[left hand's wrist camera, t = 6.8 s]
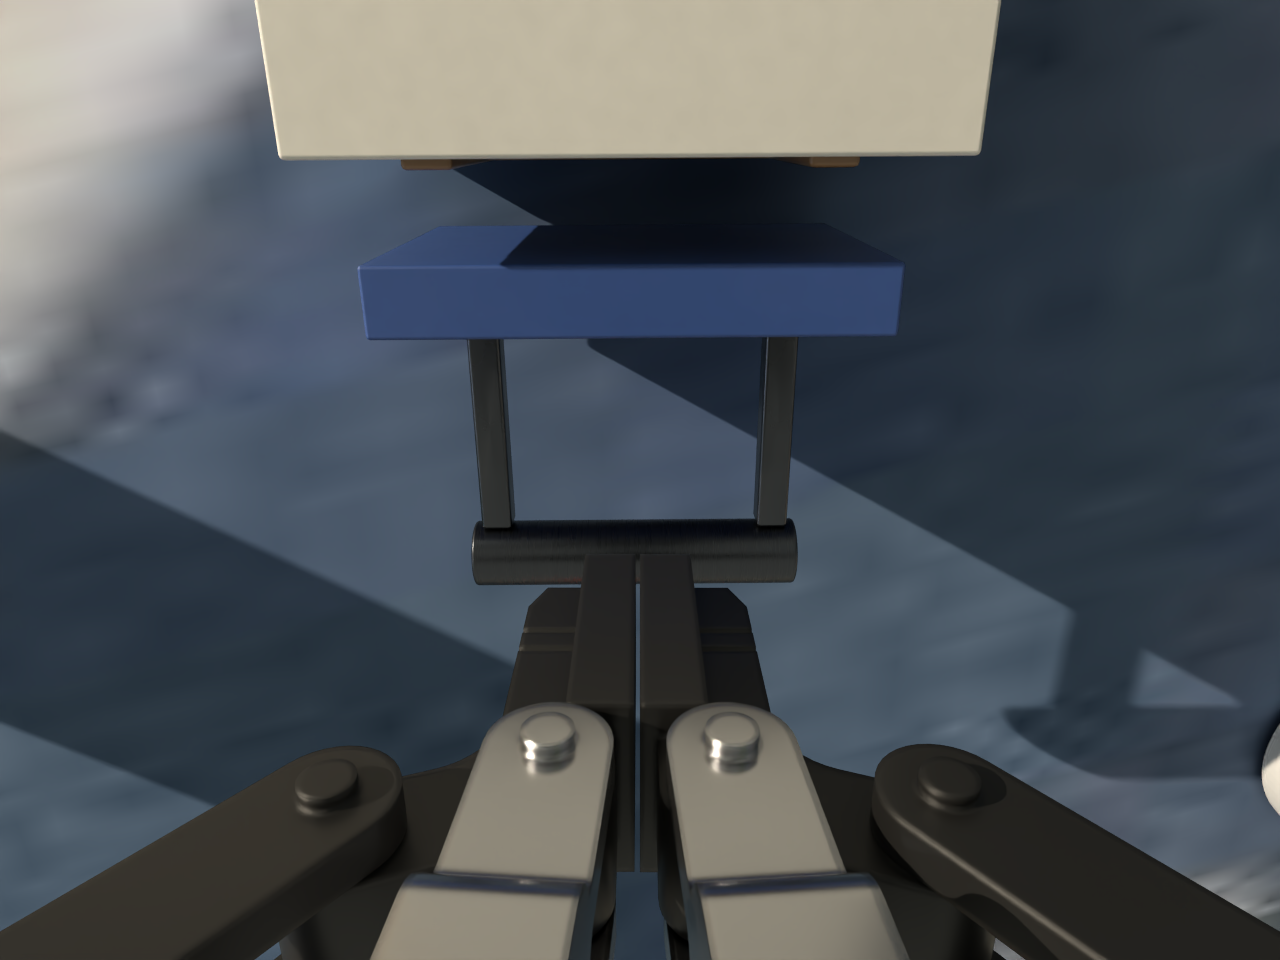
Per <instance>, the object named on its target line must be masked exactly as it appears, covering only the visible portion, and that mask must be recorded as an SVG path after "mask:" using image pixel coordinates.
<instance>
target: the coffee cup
mask: <svg viewBox="0 0 1280 960" xmlns="http://www.w3.org/2000/svg"><path fill="white" fill-rule="evenodd" d="M1262 782H1263V787H1264V791H1265V794H1266V796H1267V798H1268V800H1269V802H1270V803H1271V805H1272V806H1273V808H1274V809H1275V810H1276V811H1277V813H1278V814H1279V815H1280V724H1279V726H1278V727H1277V729H1276V730H1275V732H1274V734H1273V736H1272V738H1271V740H1270V742H1269V744H1268V746H1267V749H1266V752H1265V755H1264V760H1263V765H1262Z"/></svg>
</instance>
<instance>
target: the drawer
mask: <svg viewBox="0 0 1280 960" xmlns="http://www.w3.org/2000/svg"><path fill="white" fill-rule="evenodd" d="M755 158H770V159H775V160H779V161H784V162H789V163H794V164H799V165H804V166H809V167H855V166H858V164H859V162H860V156H850V157H699V158H548V159H401V166H402V168H403V169H405V170H451V169H455V168H460V167H465V166H469V165H474V164H479V163H484V162H488V161H493V160H605V159H755ZM357 270H358V278H359V285H360V293H361V301H362V309H363V317H364V324H365V332H366V337H367V339H369V340H450V339H467V346H468V358H469V370H470V382H471V394H472V406H473V418H474V430H475V442H476V454H477V466H478V478H479V490H480V502H481V514H482V521H478V522H477V523H476V525H475V527H474V531H473V538H472V571H473V576H474V580H475V582H476V584H478V585H556V584H581V583H582V576H583V568H584V560H585V555H586V554H636V584H640V554H690V556H691V564H692V572H693V581H694V583H787V582H793V581H794V579H795V576H796V571H797V560H798V548H797V535H796V529H795V525H794V523H793V520H792V519H790V518H787V504H788V488H789V473H790V458H791V442H792V427H793V411H794V396H795V380H796V365H797V349H798V337H851V336H895V335H897V333H898V329H899V319H900V310H901V301H902V292H903V283H904V274H905V263H904V262H902V261H900V260H898V259H896V258H894V257H892V256H890V255H888V254H886V253H884V252H882V251H880V250H878V249H875V248H873V247H871V246H869V245H867V244H865V243H863V242H861V241H859V240H857V239H855V238H853V237H851V236H849V235H847V234H845V233H843V232H841V231H839V230H836V229H834V228H832V227H830V226H828V225H826V224H693V225H549V226H440V227H437V228H435V229H433V230H431V231H429V232H427V233H425V234H423V235H421V236H419V237H417V238H415V239H413V240H411V241H409V242H407V243H405V244H403V245H401V246H399V247H397V248H395V249H393V250H391V251H389V252H387V253H385V254H383V255H381V256H379V257H377V258H375V259H372V260H370V261H368V262H366V263H364V264H362V265H360V266H358V269H357ZM717 337H762V349H761V370H760V391H759V411H758V432H757V453H756V473H755V494H754V517H755V519H652V520H532V521H514V518H515V504H514V489H513V475H512V460H511V445H510V430H509V415H508V400H507V385H506V370H505V355H504V340H503V339H583V338H717Z"/></svg>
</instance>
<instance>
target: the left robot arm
mask: <svg viewBox="0 0 1280 960" xmlns="http://www.w3.org/2000/svg"><path fill="white" fill-rule="evenodd" d="M635 724H636V554H586V555H585V560H584V568H583V576H582V583H581V588H547V589H546V590H545V591H544V592H543V593H542V594H541V595H540V596H539V597H538V598H537V599H536V600H535V601H534V602H533V603H532V604H531V605H530V606H529V608H528V612H527V616H526V620H525V625H524V633H522V637H521V641H520V646H519V651H518V654H517V658H516V662H515V667H514V671H513V675H512V679H511V684H510V688H509V692H508V696H507V700H506V705H505V709H504V713H503V717H502V718H500V719H499V720H498V721H497V722H495V723H494V724H493V725H492V726H491V728H490V729H489V730H488V731H487V733H486V735H485V737H484V739H483V742H482V745H481V747H480V749H479V750H478V751H476V752H475V753H473V754H472V755H470V756H468V757H466V758H464V759H462V760H460V761H458V762H455V763H453V764H450V765H447V766H444V767H440V768H437V769H433V770H428V771H424V772H420V773H415V774H411V775H407V776H402V775H401V772H400V769H399V767H398V765H397V764H396V762H395V761H394V760H393V759H392V758H391V757H389V756H388V755H387V754H385V753H383V752H381V751H379V750H375V749H372V748H368V747H362V746H340V747H333V748H327V749H323V750H319V751H316V752H312V753H310V754H307V755H305V756H302V757H300V758H298V759H296V760H294V761H292V762H290V763H288V764H287V765H285V766H283V767H282V768H280V769H278V770H276V771H275V772H273V773H271V774H270V775H268V776H266V777H264V778H263V779H261V780H259V781H258V782H256V783H254V784H252V785H251V786H249V787H247V788H246V789H244V790H242V791H240V792H239V793H237V794H235V795H234V796H232V797H230V798H228V799H227V800H225V801H223V802H222V803H220V804H218V805H216V806H215V807H213V808H211V809H210V810H208V811H206V812H204V813H203V814H201V815H199V816H198V817H196V818H194V819H192V820H191V821H189V822H187V823H186V824H184V825H182V826H180V827H179V828H177V829H175V830H174V831H172V832H170V833H168V834H167V835H165V836H163V837H162V838H160V839H158V840H156V841H155V842H153V843H151V844H150V845H148V846H146V847H144V848H143V849H141V850H139V851H138V852H136V853H134V854H132V855H131V856H129V857H127V858H126V859H124V860H122V861H120V862H119V863H117V864H115V865H114V866H112V867H110V868H108V869H107V870H105V871H103V872H102V873H100V874H98V875H96V876H95V877H93V878H91V879H90V880H88V881H86V882H84V883H83V884H81V885H79V886H78V887H76V888H74V889H72V890H71V891H69V892H67V893H66V894H64V895H62V896H60V897H59V898H57V899H55V900H54V901H52V902H50V903H48V904H47V905H45V906H43V907H42V908H40V909H38V910H36V911H35V912H33V913H31V914H30V915H28V916H26V917H24V918H23V919H21V920H19V921H18V922H16V923H14V924H12V925H11V926H9V927H7V928H6V929H4V930H2V931H0V960H255V959H256V958H257V957H259V956H260V955H261V954H263V953H264V952H265V951H267V950H268V949H269V948H271V947H272V946H273V945H275V944H276V943H277V942H279V945H280V950H281V955H280V956H278V957H277V958H276V959H274V960H613V959H614V951H615V942H616V875H617V872H634V853H635ZM640 872H658V900H659V907H660V910H661V912H662V915H663V917H664V942H665V951H666V959H667V960H1006V959H1004V958H1003V957H1002V956H1000V955H999V954H998V953H996V952H995V951H994V950H993V947H994V942H995V938H997V939H998V940H1000V941H1001V942H1003V943H1004V944H1005V945H1007V946H1008V947H1009V948H1011V949H1012V950H1013V951H1015V952H1016V953H1017V954H1019V955H1020V956H1021V957H1023V958H1024V959H1025V960H1280V931H1278V930H1276V929H1274V928H1273V927H1271V926H1269V925H1268V924H1266V923H1264V922H1262V921H1261V920H1259V919H1257V918H1256V917H1254V916H1252V915H1250V914H1249V913H1247V912H1245V911H1244V910H1242V909H1240V908H1238V907H1237V906H1235V905H1233V904H1232V903H1230V902H1228V901H1226V900H1225V899H1223V898H1221V897H1220V896H1218V895H1216V894H1214V893H1213V892H1211V891H1209V890H1208V889H1206V888H1204V887H1202V886H1201V885H1199V884H1197V883H1196V882H1194V881H1192V880H1190V879H1189V878H1187V877H1185V876H1184V875H1182V874H1180V873H1178V872H1177V871H1175V870H1173V869H1172V868H1170V867H1168V866H1166V865H1165V864H1163V863H1161V862H1160V861H1158V860H1156V859H1154V858H1153V857H1151V856H1149V855H1148V854H1146V853H1144V852H1142V851H1141V850H1139V849H1137V848H1136V847H1134V846H1132V845H1130V844H1129V843H1127V842H1125V841H1124V840H1122V839H1120V838H1118V837H1117V836H1115V835H1113V834H1112V833H1110V832H1108V831H1106V830H1105V829H1103V828H1101V827H1100V826H1098V825H1096V824H1094V823H1093V822H1091V821H1089V820H1088V819H1086V818H1084V817H1082V816H1081V815H1079V814H1077V813H1076V812H1074V811H1072V810H1070V809H1069V808H1067V807H1065V806H1064V805H1062V804H1060V803H1058V802H1057V801H1055V800H1053V799H1052V798H1050V797H1048V796H1046V795H1045V794H1043V793H1041V792H1040V791H1038V790H1036V789H1034V788H1033V787H1031V786H1029V785H1028V784H1026V783H1024V782H1022V781H1021V780H1019V779H1017V778H1016V777H1014V776H1012V775H1010V774H1009V773H1007V772H1005V771H1003V770H1002V769H1000V768H998V767H997V766H995V765H993V764H991V763H990V762H988V761H986V760H984V759H982V758H980V757H978V756H977V755H974V754H972V753H969V752H967V751H964V750H961V749H957V748H954V747H949V746H944V745H936V744H916V745H910V746H905V747H902V748H899V749H896V750H894V751H892V752H890V753H889V754H888V755H886V756H885V757H884V758H883V759H882V760H881V762H880V763H879V764H878V767H877V769H876V772H875V778H874V777H870V776H866V775H861V774H857V773H853V772H848V771H844V770H840V769H836V768H832V767H829V766H825V765H823V764H820V763H818V762H815V761H813V760H811V759H809V758H807V757H805V756H803V755H802V753H801V750H800V747H799V745H798V742H797V739H796V737H795V735H794V733H793V731H792V730H791V729H790V728H789V726H788V725H787V724H786V723H785V722H783V721H782V720H781V719H780V718H778V717H777V716H775V715H774V714H772V713H771V712H770V707H769V703H768V698H767V694H766V690H765V685H764V681H763V676H762V672H761V668H760V663H759V659H758V654H757V651H756V646H755V641H754V637H753V633H752V628H751V624H750V619H749V615H748V610H747V607H746V606H745V605H744V604H743V603H742V602H741V601H740V600H739V599H738V598H737V597H736V596H735V595H734V594H733V593H732V592H731V591H730V590H729V589H728V588H694V581H693V572H692V564H691V556H690V554H640Z"/></svg>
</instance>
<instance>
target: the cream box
mask: <svg viewBox="0 0 1280 960" xmlns="http://www.w3.org/2000/svg"><path fill="white" fill-rule="evenodd" d="M255 5H256V12H257V18H258V25H259V31H260V37H261V44H262V50H263V57H264V63H265V70H266V76H267V83H268V89H269V96H270V102H271V109H272V115H273V121H274V128H275V134H276V141H277V147H278V154H279V157H280V158H281V159H283V160H397V159H548V158H699V157H850V156H976V155H978V154H979V153H980V151H981V147H982V139H983V132H984V125H985V117H986V110H987V102H988V95H989V88H990V80H991V73H992V65H993V58H994V50H995V43H996V36H997V28H998V21H999V13H1000V6H1001V0H255Z"/></svg>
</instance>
